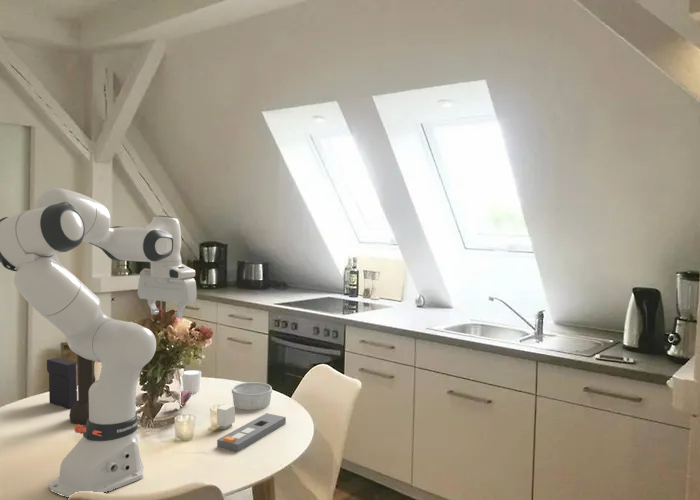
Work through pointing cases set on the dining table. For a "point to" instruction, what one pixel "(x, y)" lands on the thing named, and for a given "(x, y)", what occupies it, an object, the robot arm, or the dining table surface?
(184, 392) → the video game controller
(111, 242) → the robot arm
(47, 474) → the dining table surface
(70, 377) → the dark blue lidded box
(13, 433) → the dining table surface
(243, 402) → the ramekin
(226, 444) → the power strip
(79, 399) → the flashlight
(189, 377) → the white cup
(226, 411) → the charger
